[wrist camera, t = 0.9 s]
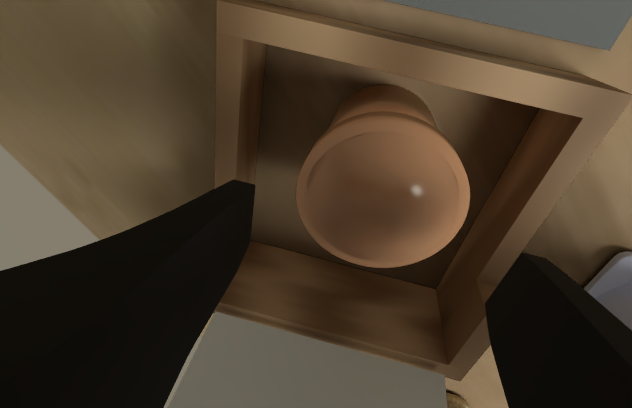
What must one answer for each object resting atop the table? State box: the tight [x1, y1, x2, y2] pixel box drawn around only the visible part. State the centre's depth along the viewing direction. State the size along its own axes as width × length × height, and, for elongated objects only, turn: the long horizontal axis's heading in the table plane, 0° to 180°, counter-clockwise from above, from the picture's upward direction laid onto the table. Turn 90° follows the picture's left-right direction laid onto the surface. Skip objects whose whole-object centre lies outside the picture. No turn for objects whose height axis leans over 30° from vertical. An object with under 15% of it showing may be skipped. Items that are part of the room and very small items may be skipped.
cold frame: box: [213, 0, 632, 381], centre depth 13 cm, size 14×16×11 cm
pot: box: [296, 85, 470, 268], centre depth 13 cm, size 6×6×6 cm
